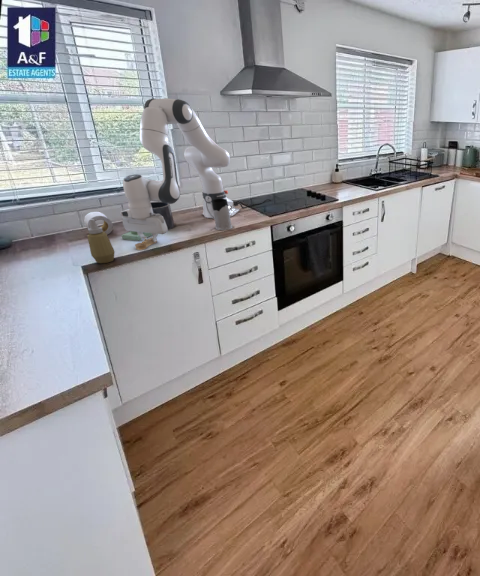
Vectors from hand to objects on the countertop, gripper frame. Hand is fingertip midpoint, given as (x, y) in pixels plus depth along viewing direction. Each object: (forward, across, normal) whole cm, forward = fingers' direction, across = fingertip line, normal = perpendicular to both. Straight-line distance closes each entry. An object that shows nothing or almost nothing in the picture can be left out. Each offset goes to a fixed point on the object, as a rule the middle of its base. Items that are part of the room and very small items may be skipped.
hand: (149, 240), depth 174 cm
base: (+2, +13, -9) cm, 16 cm away
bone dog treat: (+2, 0, +2) cm, 3 cm away
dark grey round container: (+2, +14, -24) cm, 28 cm away
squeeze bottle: (+2, +3, +22) cm, 22 cm away
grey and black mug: (+2, -16, -33) cm, 37 cm away
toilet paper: (+2, +34, -8) cm, 35 cm away
